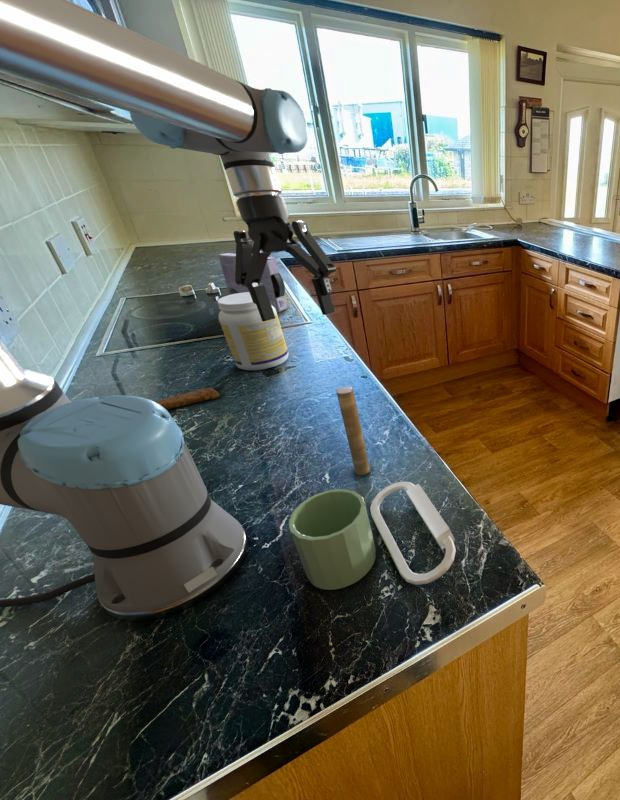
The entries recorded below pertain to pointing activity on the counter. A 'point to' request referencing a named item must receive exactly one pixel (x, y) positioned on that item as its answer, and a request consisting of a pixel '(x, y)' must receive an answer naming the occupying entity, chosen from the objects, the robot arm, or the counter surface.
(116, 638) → the counter surface
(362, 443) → the stick
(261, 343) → the supplement tub
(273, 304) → the cake pan box
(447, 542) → the white oval ring
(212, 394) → the brown rounded bar
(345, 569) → the cup
